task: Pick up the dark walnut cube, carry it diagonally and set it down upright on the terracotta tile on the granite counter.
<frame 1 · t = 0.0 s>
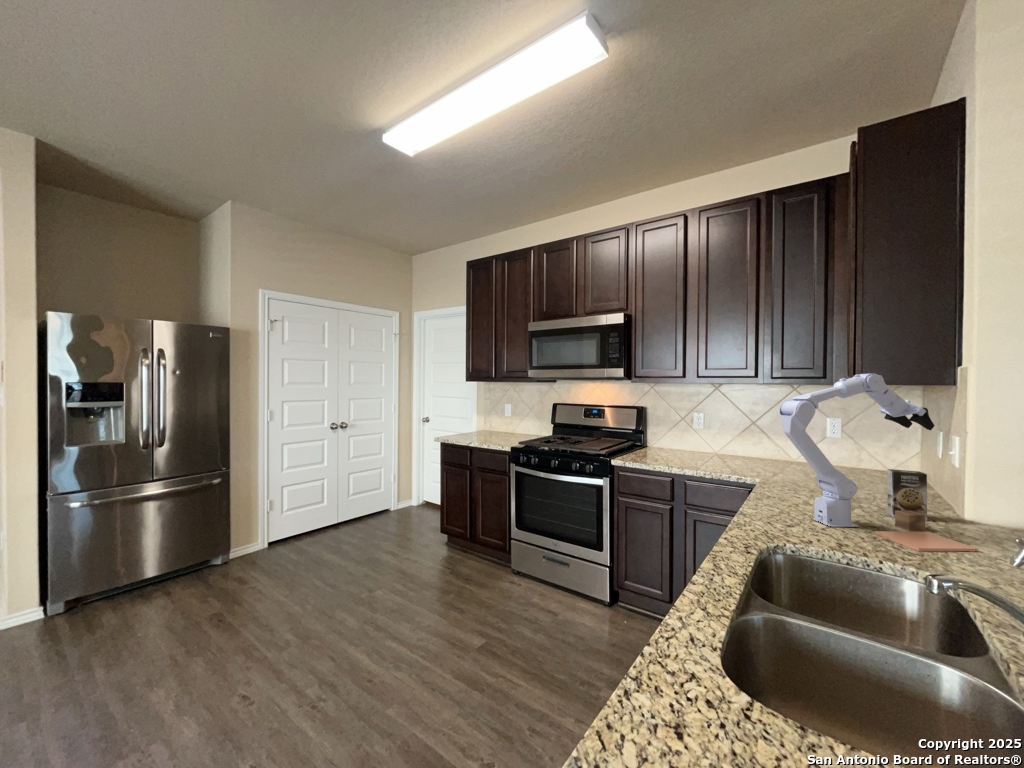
hand: (920, 426, 139), 32 cm above the worktop, tool tilted 50°, fingers open, 7 cm apart
terracotta tile: (923, 542, 121), on the worktop
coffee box: (907, 517, 146), on the worktop
walnut cube: (909, 528, 134), on the worktop
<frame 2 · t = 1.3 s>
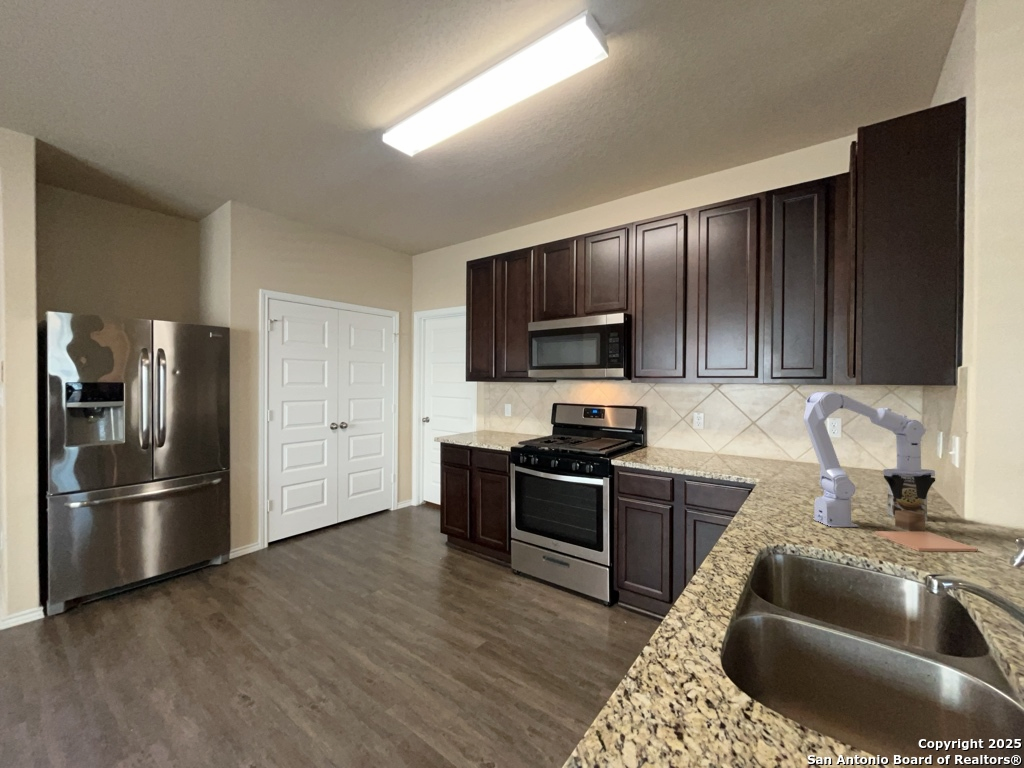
hand: (909, 498, 134), 9 cm above the worktop, tool pointing down, fingers open, 7 cm apart
nothing on the worktop moved.
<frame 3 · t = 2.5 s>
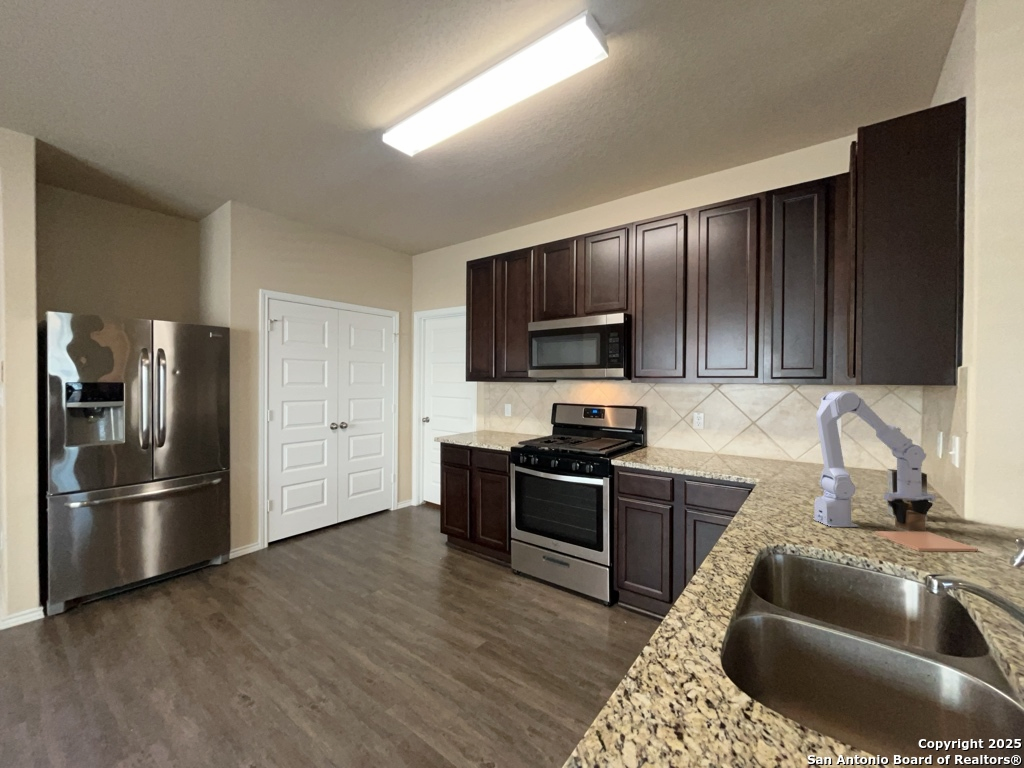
hand: (909, 522, 134), 2 cm above the worktop, tool pointing down, fingers closed on walnut cube, 5 cm apart
walnut cube: (910, 528, 134), on the worktop, touching gripper
everything else where it was.
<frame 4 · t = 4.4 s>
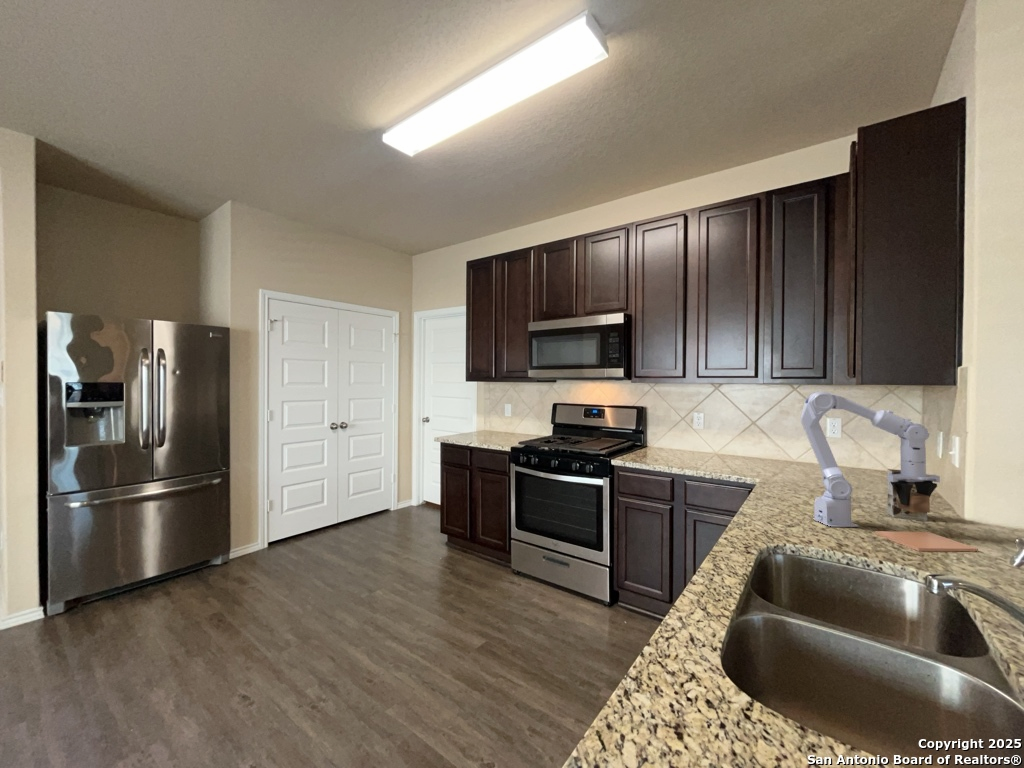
hand: (913, 504, 130), 9 cm above the worktop, tool pointing down, fingers closed on walnut cube, 5 cm apart
walnut cube: (913, 510, 130), point 7 cm above the worktop, touching gripper
everything else where it was.
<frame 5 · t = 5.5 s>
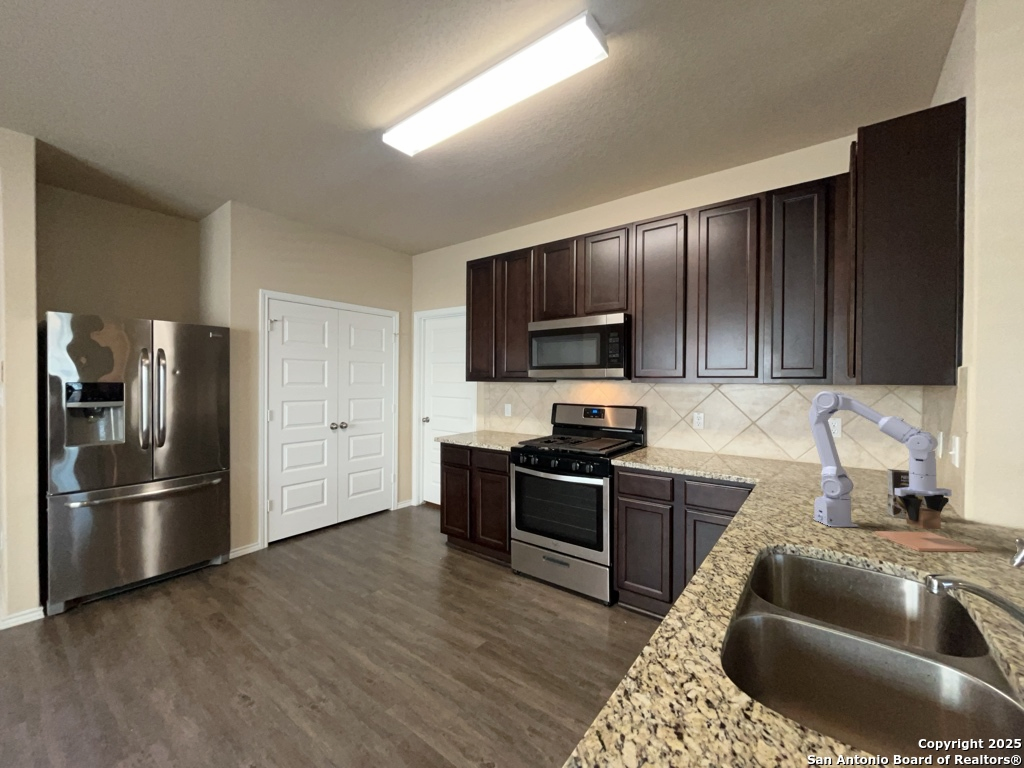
hand: (923, 520, 121), 6 cm above the worktop, tool pointing down, fingers closed on walnut cube, 5 cm apart
walnut cube: (923, 526, 121), point 5 cm above the worktop, touching gripper
everything else where it was.
when the fingers open (3 cm above the worktop, at t = 6.5 s): walnut cube stays where it is, resting on terracotta tile.
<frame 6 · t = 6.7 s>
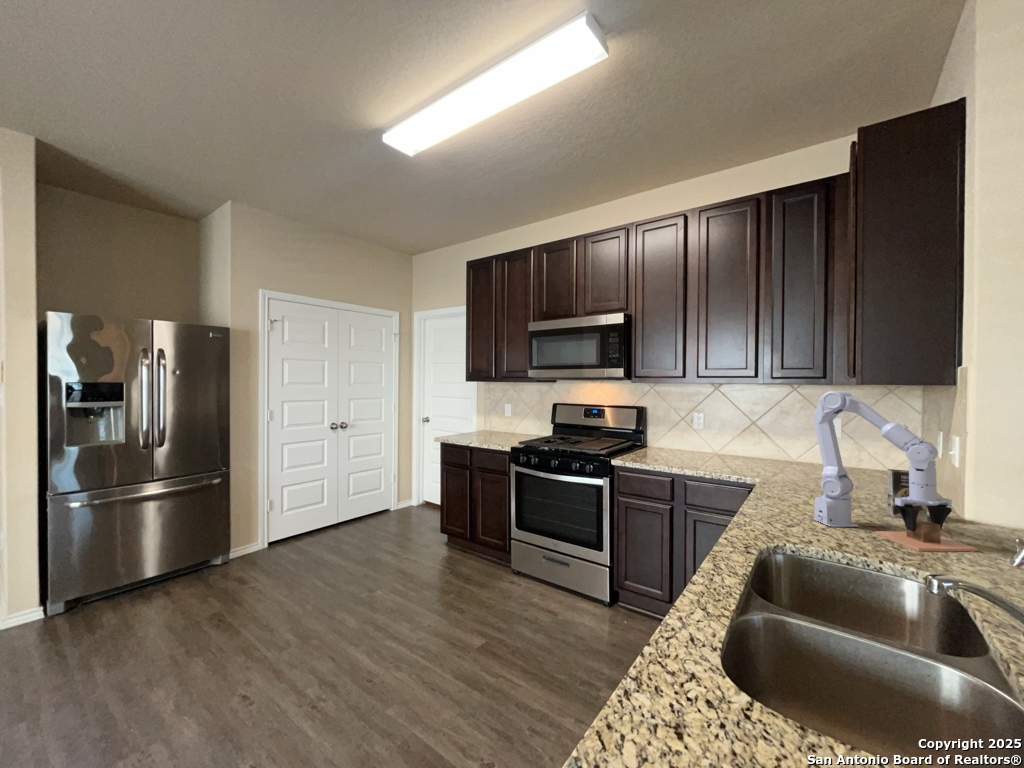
hand: (923, 530, 121), 3 cm above the worktop, tool pointing down, fingers open, 7 cm apart
walnut cube: (923, 539, 121), point 1 cm above the worktop, touching terracotta tile
everything else where it was.
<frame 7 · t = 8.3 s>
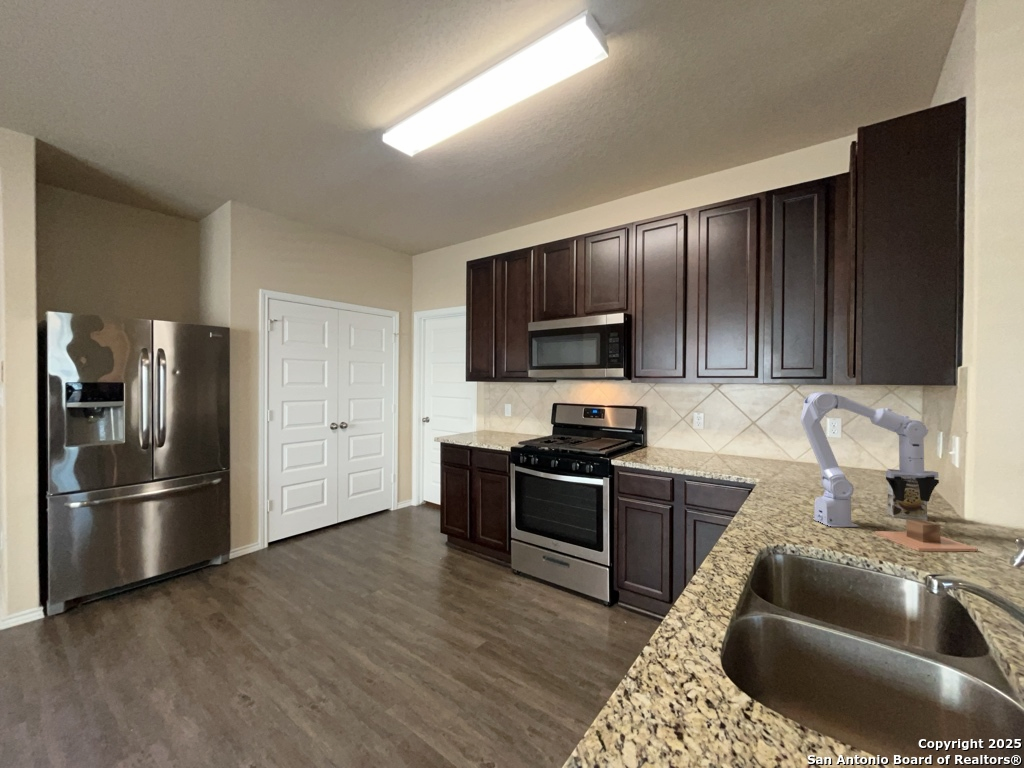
hand: (912, 500, 132), 9 cm above the worktop, tool pointing down, fingers open, 7 cm apart
nothing on the worktop moved.
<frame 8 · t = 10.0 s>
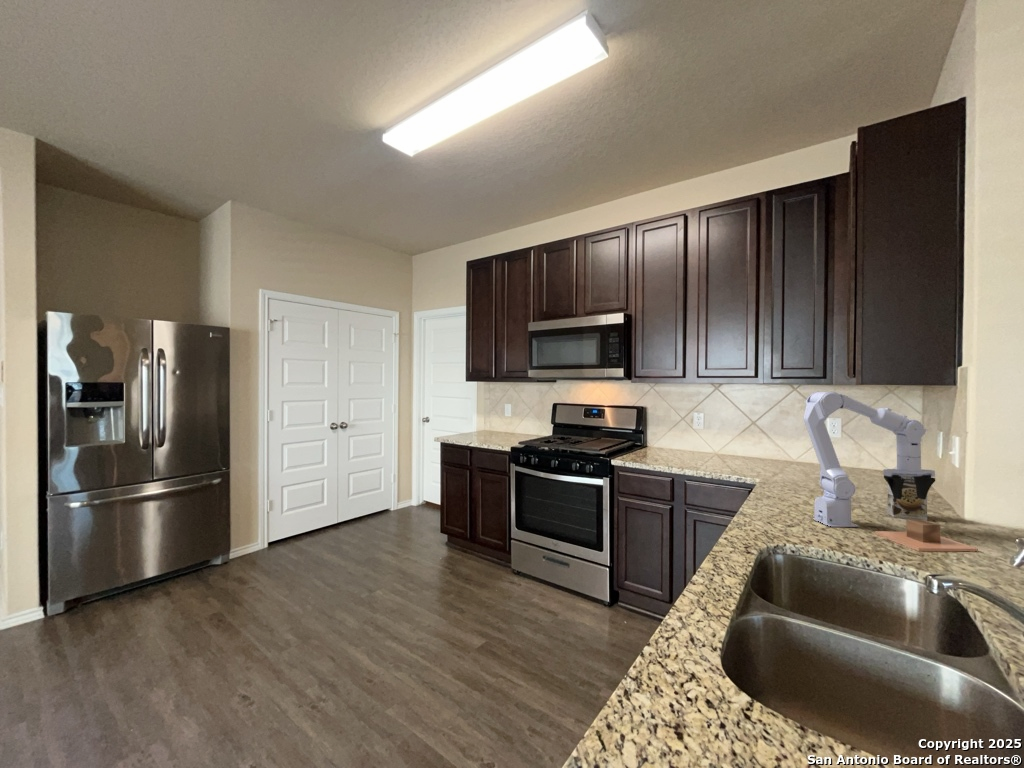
hand: (909, 498, 134), 9 cm above the worktop, tool pointing down, fingers open, 7 cm apart
nothing on the worktop moved.
at the end: walnut cube inside the target area on the terracotta tile (0.1 cm from its centre), point 0.8 cm above the terracotta tile's base; walnut cube tilted 0°; the gripper is holding nothing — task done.
